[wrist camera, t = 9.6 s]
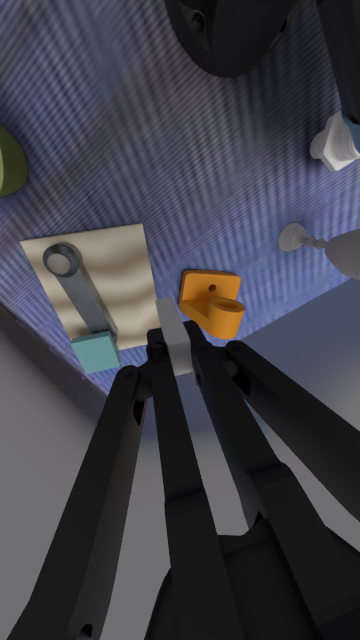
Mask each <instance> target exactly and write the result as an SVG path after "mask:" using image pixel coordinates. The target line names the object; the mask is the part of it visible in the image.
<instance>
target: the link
mask: <svg viewBox="0 0 360 640" xmlns="http://www.w3.org/2000/svg"><path fill="white" fill-rule="evenodd" d="M54 253H62V254H64V255H66V256H67V257H68V258H69V259H70V261H71V268H70V269H69V270H68V272H66V273H64V274H58V273H55V272H53V271H52V270H51V269H50V268H49V266H48V264H47V260H48V258H49V257H50V256H51V255H52V254H54ZM82 261H83V260H82V255H81V253H80V252H79V250H78V249H77V248H76V247H75V246H73V245H71V244H69V243H65V242H59V243H56V244H54V245H52V246H50V247H48V248H47V249H46V250H45V251H44V253H43V263H44V265H45V267H46V269H47V270H48V271H49V272H50V273H52V274H53V275H55V277H56V278H57V280H58V281H59V283H60V285H61V286H62V288H63V289H64V291H65V292H66V294H67V296H68V297H69V299H70V300H71V302H72V303H73V305H74V306H75V308H76V310H77V311H78V313H79V314H80V316H81V317H82V319H83V321H84V322H85V324H86V325H87V327H88V328H89V330H90V331H91V333H92V334H96V333H101V332H106V331H110V334H111V336H112V339H113V342H114V344H115V343H116V342H117V336H118V329H117V327H116V325H115V323H114V321H113V319H112V317H111V316H110V314H109V312H108V310H107V308H106V306H105V304H104V303H103V301H102V299H101V297H100V295H99V293H98V291H97V289H96V288H95V286H94V284H93V282H92V280H91V278H90V276H89V275H88V273H87V271H86V269H85V267H84V265H83V263H82Z"/></svg>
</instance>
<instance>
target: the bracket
mask: <svg viewBox="0 0 360 640" xmlns="http://www.w3.org/2000/svg"><path fill="white" fill-rule="evenodd" d="M240 283H241V278H240V277H239V276H237V275H236V274H234V273H225V272H224V271H211V270H198V269H196V270H186V271H185V272H184V273H183V277H182V284H181V291H180V298H179V305H178V306H179V308H180V311H182V312H183V313H184V314H185V315H187V316H188V317H189V318H190V319H192V320H193V321H195V322H196V323H197V324H198V325H199V326H200V327H201V328H203V329H204V330H205V331H206V332H208V333H209V334H210V335H212V336H214V337H217V338H221V339H231V338H234V337H235V336H236V334H237V331H238V328H239V325H240V322H241V319H242V316H243V313H244V310H245V307H244V306H243V305H242V304H241V303H240V302H238V301H235V300H236V296H237V293H238V290H239V286H240Z"/></svg>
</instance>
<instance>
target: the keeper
mask: <svg viewBox="0 0 360 640" xmlns="http://www.w3.org/2000/svg"><path fill="white" fill-rule="evenodd" d="M70 344H71V346H72V348H73V350H74V352H75V354H76V356H77V357H78V359H79V361H80V363H81V365H82V367H83V369H84V371H85V372H86V374H89V373H94V372H98V371H102V370H107V369H111V368H115V367H120V363H121V360H120V358H119V349H118V346H117V344H116V343H115V344H114V342H113V339H112V336H111V334H110V331H106V332H101V333H96V334H91V335H87V336H82V337H77V338H73V339H72V341H71V343H70Z"/></svg>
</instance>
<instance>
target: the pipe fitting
mask: <svg viewBox="0 0 360 640" xmlns="http://www.w3.org/2000/svg"><path fill="white" fill-rule="evenodd" d="M310 155H311V157H312V158H314V159H321V160H322V161H323V162H324V164H325V165H326V166H327V168H328V169H329V170H330V171H338V170H339V169H341V168H343V167H344V166H346V165H347V164H349V163H350V162H352V161H354V160H355V159H359V158H360V153H358V151H357V150H356V149H355V147H354V144H353V141H352V138H351V135H350V132H349V129H348V126H347V125H346V124H345V123H344V121H343V120H342V116H341V110H340V111H338V112H337V113H335V114H334V115H332V116H331V117H329V119H328V121H327V124H326V127H325V130H324V131H322V132H321V133H319V134H317V135H316V136H315V137H314V139H313V140H312V143H311V146H310Z"/></svg>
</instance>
